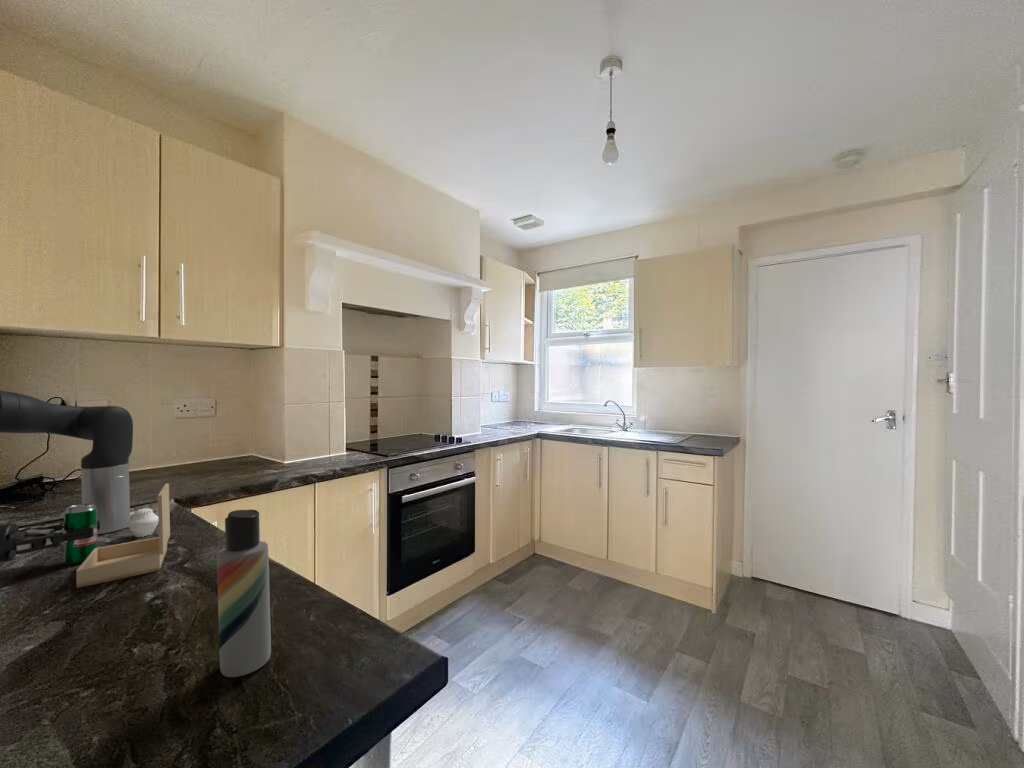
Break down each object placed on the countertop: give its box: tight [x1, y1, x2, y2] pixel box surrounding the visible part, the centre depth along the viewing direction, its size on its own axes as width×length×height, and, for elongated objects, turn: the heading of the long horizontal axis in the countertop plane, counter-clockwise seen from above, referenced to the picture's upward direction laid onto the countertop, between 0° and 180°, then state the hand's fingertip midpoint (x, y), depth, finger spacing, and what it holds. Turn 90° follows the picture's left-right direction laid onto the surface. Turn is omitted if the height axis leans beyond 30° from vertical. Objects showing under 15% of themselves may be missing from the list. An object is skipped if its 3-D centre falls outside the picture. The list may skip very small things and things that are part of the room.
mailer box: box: [75, 483, 171, 589], centre depth 88 cm, size 14×13×15 cm
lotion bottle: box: [216, 509, 272, 678], centre depth 55 cm, size 6×6×20 cm
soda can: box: [63, 503, 99, 565], centre depth 92 cm, size 5×5×12 cm
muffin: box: [127, 507, 159, 538], centre depth 107 cm, size 6×6×7 cm
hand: (96, 528), depth 93 cm, fingers closed on soda can, 5 cm apart
